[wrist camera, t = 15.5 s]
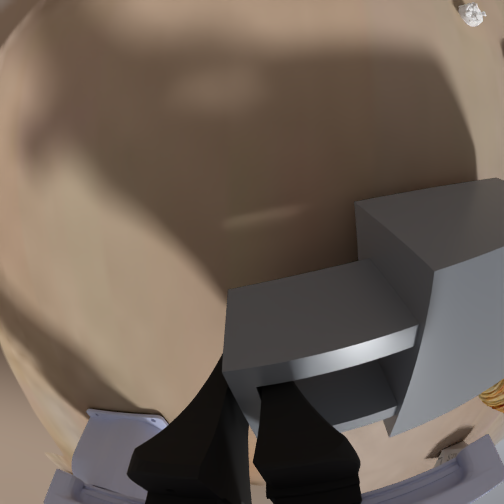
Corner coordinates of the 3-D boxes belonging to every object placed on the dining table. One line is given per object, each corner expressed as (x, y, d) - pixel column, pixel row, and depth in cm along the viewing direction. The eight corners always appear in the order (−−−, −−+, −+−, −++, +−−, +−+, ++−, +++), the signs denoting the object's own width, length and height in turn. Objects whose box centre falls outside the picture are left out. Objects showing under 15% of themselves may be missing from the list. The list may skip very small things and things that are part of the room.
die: (460, 429, 26) (442, 484, 20) (492, 438, 23) (477, 490, 17) (434, 441, 32) (415, 487, 26) (465, 449, 28) (449, 494, 22)
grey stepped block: (264, 377, 16) (270, 465, 11) (217, 231, 12) (195, 327, 6) (475, 312, 15) (519, 366, 10) (496, 177, 11) (573, 215, 5)
